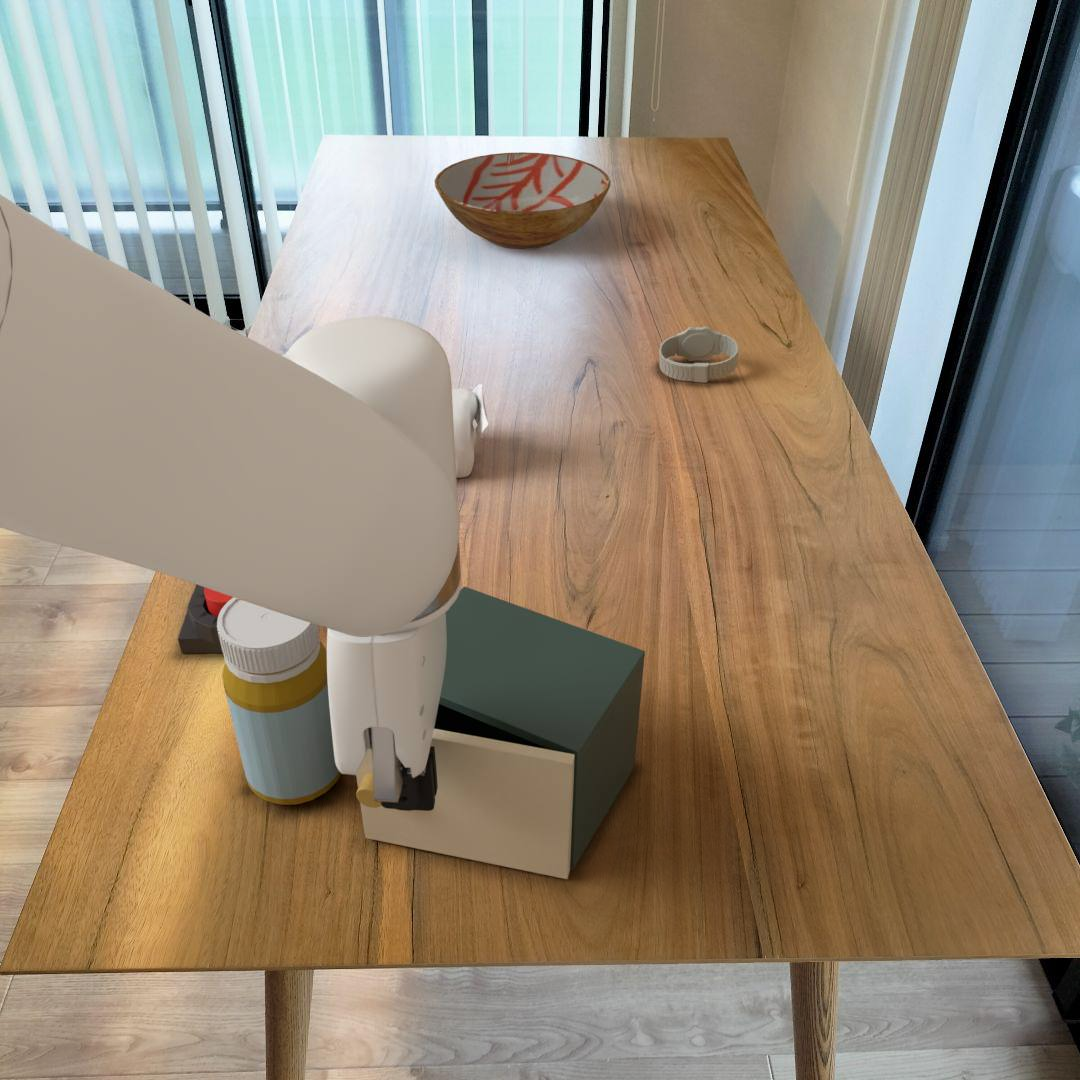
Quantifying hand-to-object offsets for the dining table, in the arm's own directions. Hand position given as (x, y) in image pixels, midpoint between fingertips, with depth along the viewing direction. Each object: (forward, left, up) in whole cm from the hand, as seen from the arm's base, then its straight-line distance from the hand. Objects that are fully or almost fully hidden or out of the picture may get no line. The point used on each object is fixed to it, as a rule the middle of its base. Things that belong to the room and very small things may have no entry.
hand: (410, 798), depth 65 cm
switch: (+17, +29, -8) cm, 34 cm away
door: (+3, -2, -8) cm, 9 cm away
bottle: (+4, +13, -9) cm, 16 cm away
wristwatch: (+74, +10, -9) cm, 75 cm away
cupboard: (+11, -1, -8) cm, 14 cm away
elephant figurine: (+44, +26, -9) cm, 51 cm away
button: (+13, +27, -5) cm, 30 cm away
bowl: (+101, +48, -9) cm, 112 cm away
